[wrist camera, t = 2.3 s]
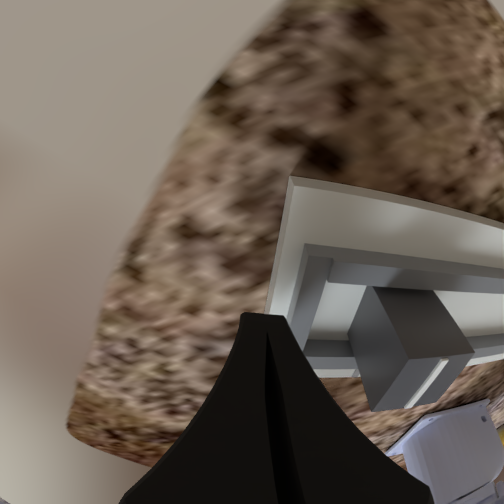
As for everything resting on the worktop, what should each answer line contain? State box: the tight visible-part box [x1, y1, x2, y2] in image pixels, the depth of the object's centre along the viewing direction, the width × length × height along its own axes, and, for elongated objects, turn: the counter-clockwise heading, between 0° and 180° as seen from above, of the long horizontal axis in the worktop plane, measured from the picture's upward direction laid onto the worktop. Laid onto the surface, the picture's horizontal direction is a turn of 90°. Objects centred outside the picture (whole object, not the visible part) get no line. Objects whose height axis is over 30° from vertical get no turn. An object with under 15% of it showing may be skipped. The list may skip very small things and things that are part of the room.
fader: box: [347, 286, 475, 412], centre depth 10 cm, size 3×3×4 cm
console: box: [264, 176, 504, 378], centre depth 12 cm, size 18×9×2 cm, turn 83°
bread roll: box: [496, 425, 504, 447], centre depth 27 cm, size 8×9×4 cm
